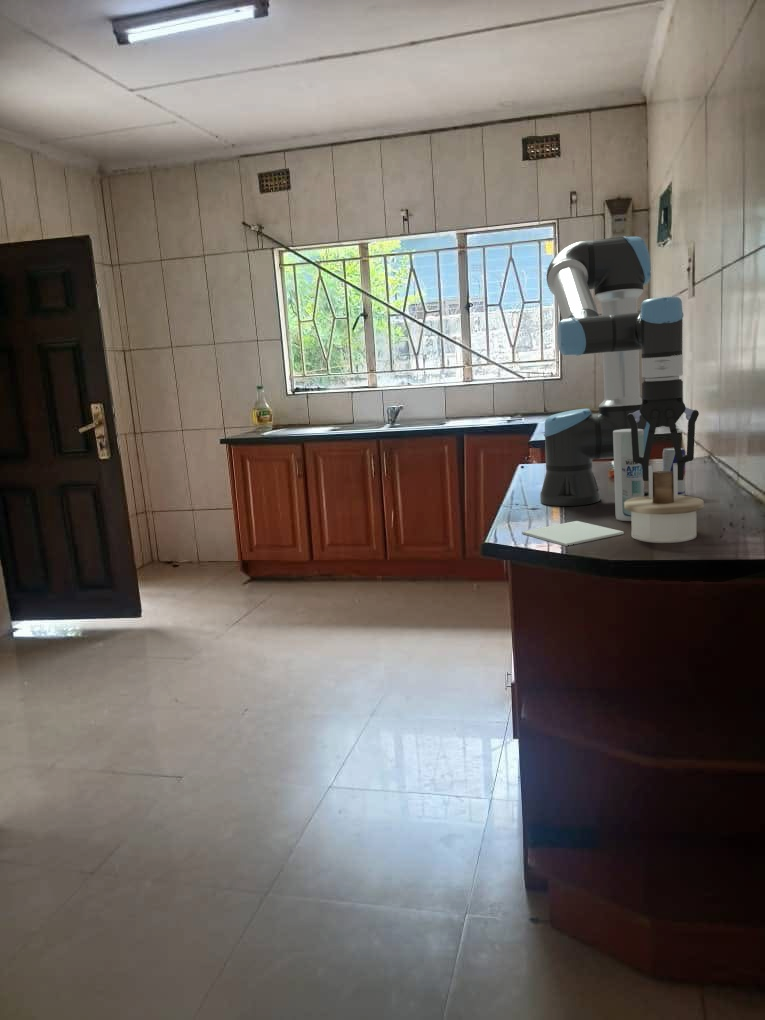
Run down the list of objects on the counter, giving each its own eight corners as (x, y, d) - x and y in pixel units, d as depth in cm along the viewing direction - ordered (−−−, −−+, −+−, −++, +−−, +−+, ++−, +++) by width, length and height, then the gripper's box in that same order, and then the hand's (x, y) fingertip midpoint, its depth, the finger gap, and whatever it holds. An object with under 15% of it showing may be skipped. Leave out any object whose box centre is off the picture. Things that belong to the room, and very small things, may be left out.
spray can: (634, 513, 174) (632, 428, 170) (651, 518, 168) (649, 429, 164) (609, 517, 172) (607, 430, 169) (625, 522, 166) (623, 432, 163)
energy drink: (687, 496, 188) (687, 449, 186) (665, 497, 189) (664, 450, 187) (683, 493, 194) (682, 446, 191) (661, 494, 195) (660, 448, 192)
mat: (522, 533, 164) (521, 531, 163) (576, 522, 170) (576, 520, 170) (566, 546, 150) (566, 543, 150) (623, 533, 156) (623, 531, 156)
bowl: (618, 535, 155) (617, 507, 154) (663, 525, 160) (663, 498, 159) (663, 546, 144) (663, 515, 143) (710, 535, 149) (710, 506, 148)
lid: (608, 507, 155) (607, 473, 153) (662, 496, 161) (662, 464, 159) (663, 517, 141) (663, 481, 140) (720, 506, 147) (720, 471, 146)
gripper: (615, 383, 146) (618, 500, 150) (710, 376, 140) (710, 499, 144) (617, 381, 153) (619, 493, 157) (708, 375, 147) (707, 492, 151)
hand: (663, 496), depth 151 cm, fingers closed on lid, 4 cm apart
